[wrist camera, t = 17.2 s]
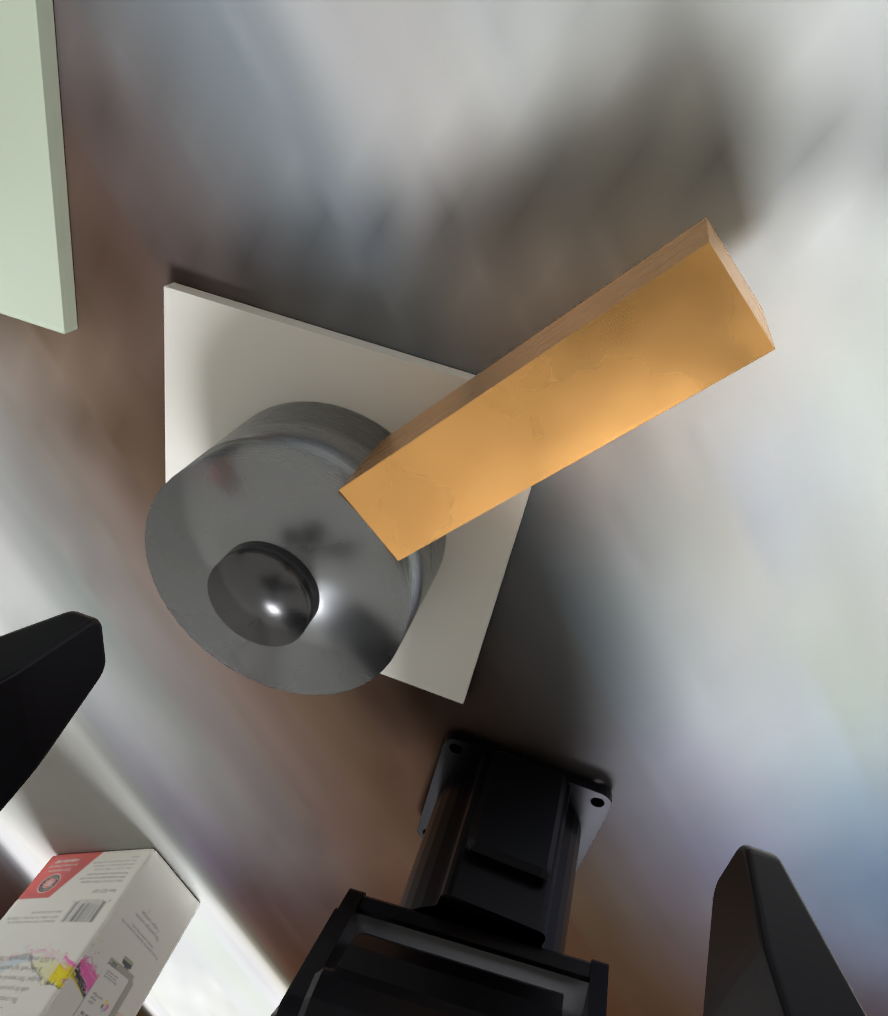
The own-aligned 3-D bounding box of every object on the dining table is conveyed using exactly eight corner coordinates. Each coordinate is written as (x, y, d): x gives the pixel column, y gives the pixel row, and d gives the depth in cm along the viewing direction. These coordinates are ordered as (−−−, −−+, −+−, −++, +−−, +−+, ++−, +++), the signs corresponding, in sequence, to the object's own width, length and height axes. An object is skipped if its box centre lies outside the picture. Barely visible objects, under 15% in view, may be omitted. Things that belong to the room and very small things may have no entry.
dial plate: (466, 694, 27) (462, 704, 26) (174, 586, 28) (166, 594, 28) (559, 400, 20) (556, 407, 20) (173, 282, 22) (163, 286, 21)
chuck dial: (326, 645, 27) (263, 743, 23) (175, 478, 25) (78, 553, 21) (816, 392, 18) (853, 481, 14) (638, 100, 16) (621, 105, 12)
